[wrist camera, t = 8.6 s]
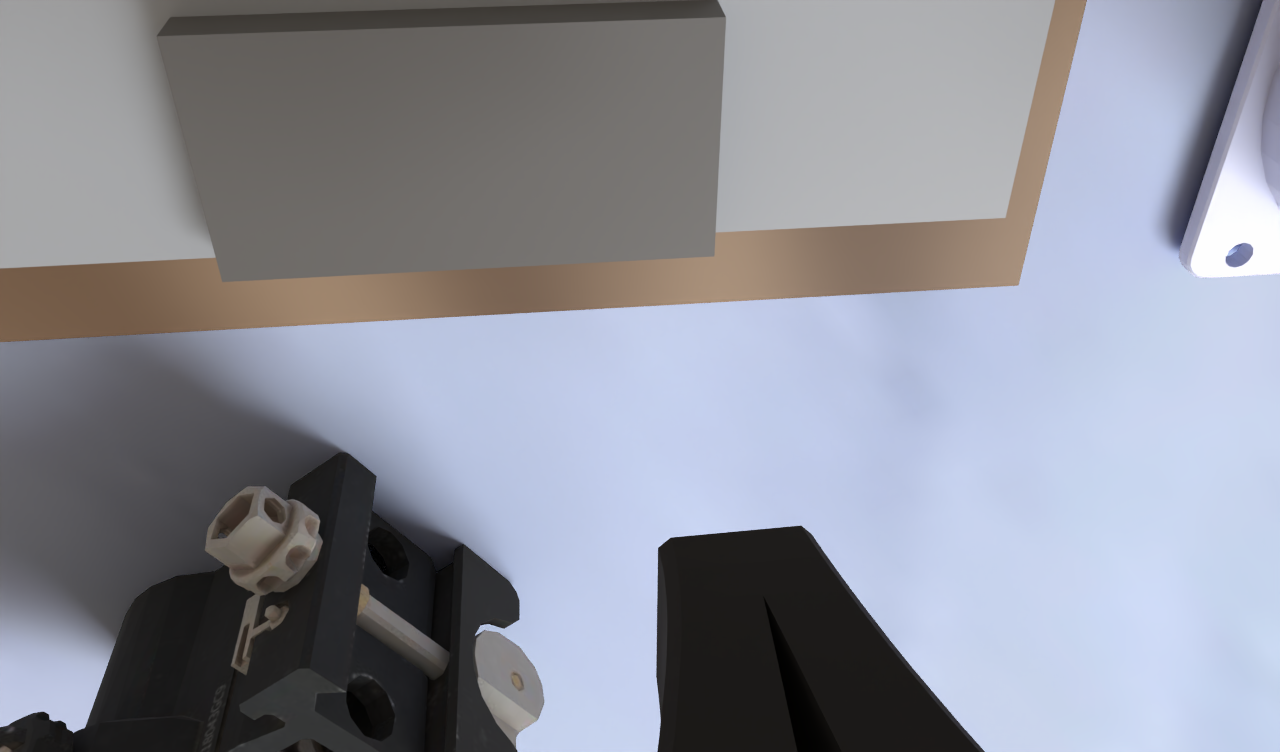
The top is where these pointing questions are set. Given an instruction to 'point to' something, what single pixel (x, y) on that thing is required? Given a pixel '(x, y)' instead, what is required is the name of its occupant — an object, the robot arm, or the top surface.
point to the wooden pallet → (566, 265)
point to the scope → (310, 642)
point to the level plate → (495, 127)
